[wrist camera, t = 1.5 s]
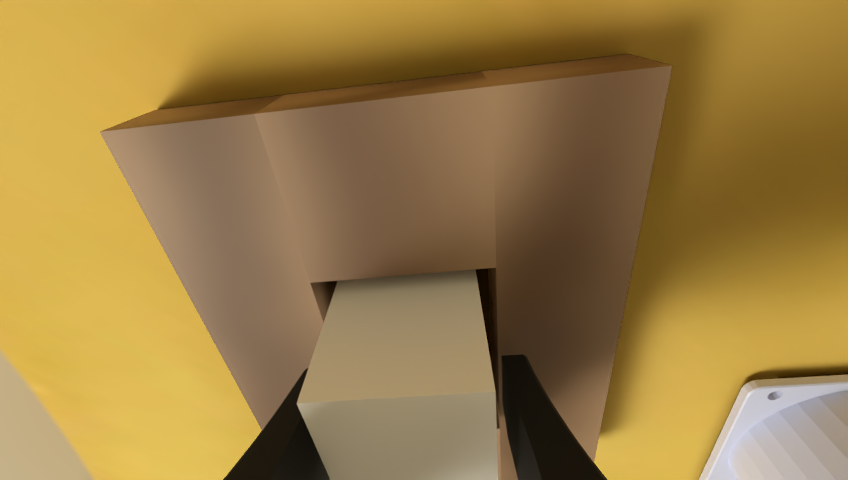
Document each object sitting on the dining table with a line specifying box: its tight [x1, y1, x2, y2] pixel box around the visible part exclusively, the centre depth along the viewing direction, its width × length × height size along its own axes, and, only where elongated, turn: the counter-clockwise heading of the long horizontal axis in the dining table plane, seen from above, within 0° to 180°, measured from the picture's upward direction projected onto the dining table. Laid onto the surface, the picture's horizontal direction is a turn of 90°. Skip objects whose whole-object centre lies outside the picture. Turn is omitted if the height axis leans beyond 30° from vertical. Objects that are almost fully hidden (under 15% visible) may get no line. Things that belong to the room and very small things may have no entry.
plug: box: [297, 269, 498, 480], centre depth 12 cm, size 4×6×6 cm, turn 7°
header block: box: [100, 54, 672, 480], centre depth 13 cm, size 12×16×2 cm
